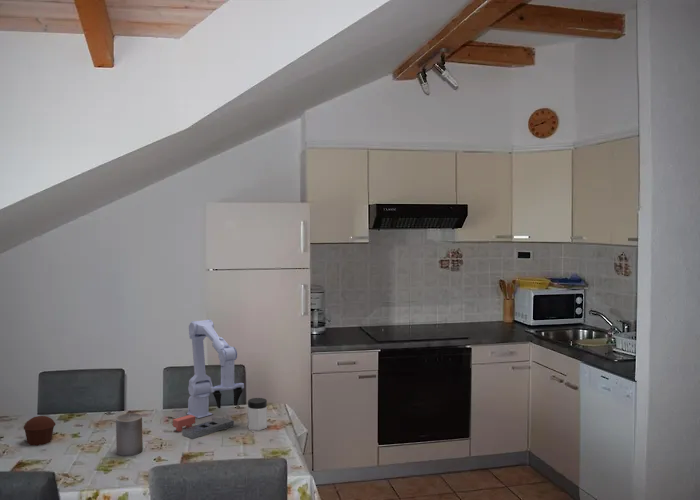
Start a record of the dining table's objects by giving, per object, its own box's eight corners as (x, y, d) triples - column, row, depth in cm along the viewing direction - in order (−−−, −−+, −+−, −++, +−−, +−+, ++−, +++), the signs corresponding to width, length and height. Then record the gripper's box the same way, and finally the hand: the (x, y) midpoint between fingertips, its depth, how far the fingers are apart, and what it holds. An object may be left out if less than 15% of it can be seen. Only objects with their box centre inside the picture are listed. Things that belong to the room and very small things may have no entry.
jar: (246, 424, 287) (246, 398, 287) (264, 423, 290) (264, 396, 289) (249, 431, 279) (249, 403, 278) (268, 429, 281) (268, 402, 280)
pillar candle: (133, 445, 260) (133, 408, 259) (147, 451, 254) (147, 413, 253) (111, 452, 252) (110, 414, 251) (125, 458, 246) (124, 419, 245)
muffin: (20, 447, 255) (20, 422, 255) (26, 438, 266) (26, 414, 265) (53, 445, 258) (53, 420, 258) (58, 436, 269) (57, 412, 268)
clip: (172, 430, 278) (172, 419, 277) (190, 425, 284) (190, 414, 284) (177, 432, 275) (177, 421, 275) (195, 427, 282) (195, 416, 282)
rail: (182, 435, 273) (182, 429, 272) (223, 422, 289) (223, 417, 289) (192, 439, 268) (192, 433, 268) (233, 426, 285) (233, 420, 285)
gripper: (214, 379, 273) (214, 411, 274) (246, 375, 281) (246, 406, 282) (208, 375, 279) (208, 406, 280) (240, 371, 287) (240, 402, 288)
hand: (227, 406), depth 281 cm, fingers open, 7 cm apart
